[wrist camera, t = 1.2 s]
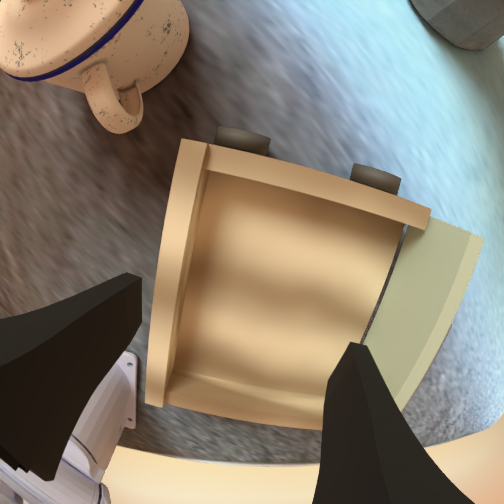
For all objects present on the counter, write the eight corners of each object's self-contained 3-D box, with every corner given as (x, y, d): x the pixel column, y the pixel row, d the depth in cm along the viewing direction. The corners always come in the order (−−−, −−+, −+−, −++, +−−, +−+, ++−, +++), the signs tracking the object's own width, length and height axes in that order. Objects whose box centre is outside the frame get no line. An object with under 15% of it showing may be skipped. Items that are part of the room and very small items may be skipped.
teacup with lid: (65, 28, 15) (-37, -22, 4) (175, -27, 14) (122, -130, 3) (98, 165, 18) (-36, 183, 7) (226, 111, 17) (182, 42, 6)
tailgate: (350, 406, 21) (369, 464, 15) (332, 404, 21) (348, 464, 15) (432, 217, 17) (492, 242, 11) (413, 209, 17) (471, 233, 11)
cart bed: (318, 400, 23) (327, 444, 19) (161, 370, 23) (144, 413, 18) (401, 182, 18) (441, 190, 14) (204, 126, 18) (187, 115, 13)
